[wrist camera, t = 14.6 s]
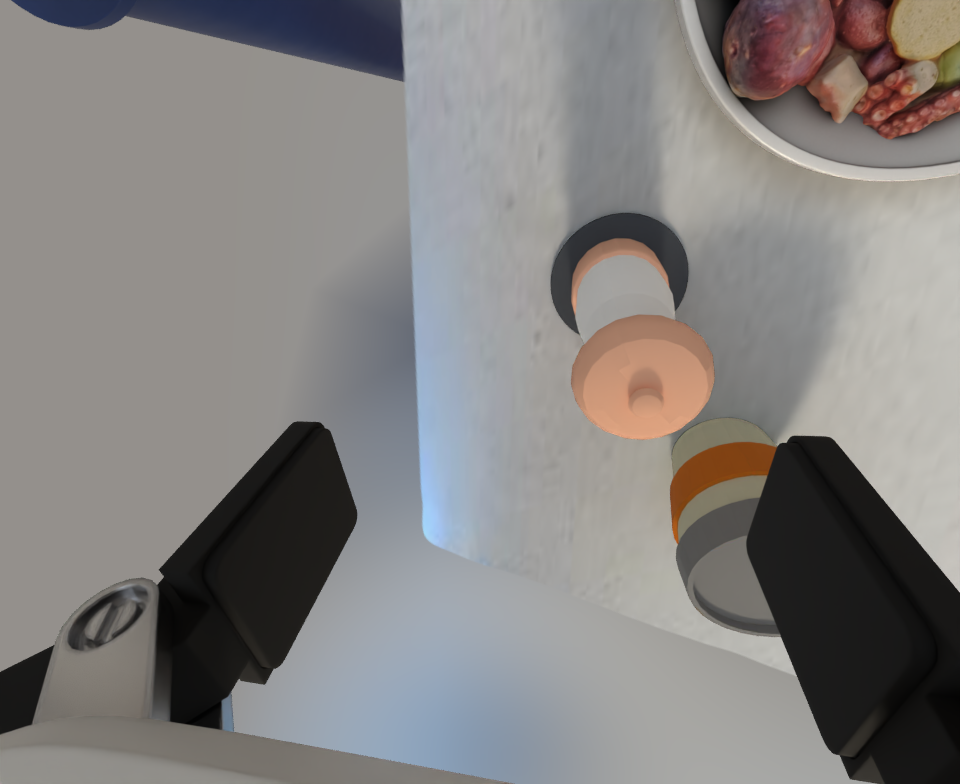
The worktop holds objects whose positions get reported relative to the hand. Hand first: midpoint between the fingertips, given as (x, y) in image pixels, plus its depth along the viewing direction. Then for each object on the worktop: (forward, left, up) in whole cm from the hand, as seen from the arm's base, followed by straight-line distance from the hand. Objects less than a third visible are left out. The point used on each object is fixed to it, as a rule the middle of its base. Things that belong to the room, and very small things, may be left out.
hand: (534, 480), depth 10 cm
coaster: (+4, -5, -31) cm, 31 cm away
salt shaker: (+4, -5, -30) cm, 31 cm away
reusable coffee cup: (+15, -23, -31) cm, 41 cm away
